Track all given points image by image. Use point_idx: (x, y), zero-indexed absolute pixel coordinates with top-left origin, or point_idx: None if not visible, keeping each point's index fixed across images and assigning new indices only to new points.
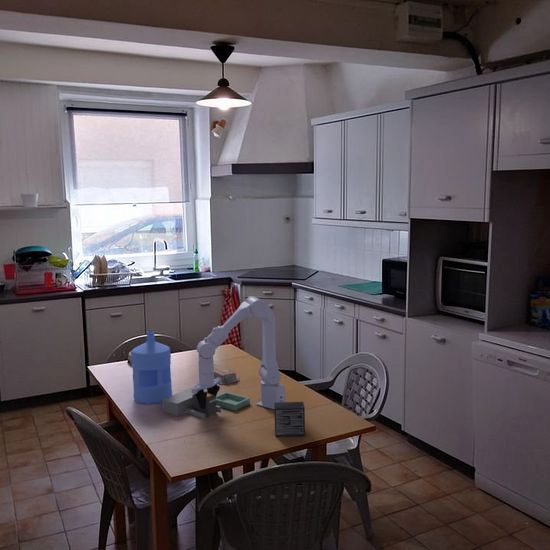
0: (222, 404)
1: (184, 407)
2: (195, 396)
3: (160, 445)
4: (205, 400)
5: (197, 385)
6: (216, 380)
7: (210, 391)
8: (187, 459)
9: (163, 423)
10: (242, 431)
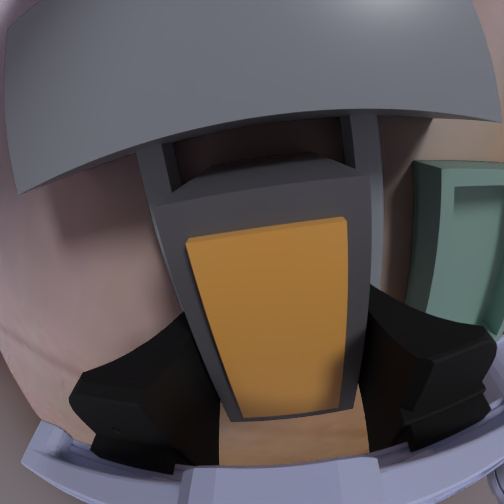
0: (418, 280)
1: (120, 155)
2: (176, 265)
3: (9, 347)
4: (217, 394)
5: (113, 494)
6: (469, 485)
7: (378, 375)
8: (63, 421)
9: (13, 214)
10: (245, 452)
